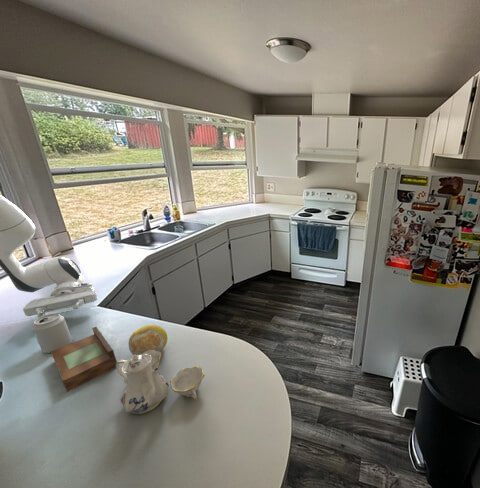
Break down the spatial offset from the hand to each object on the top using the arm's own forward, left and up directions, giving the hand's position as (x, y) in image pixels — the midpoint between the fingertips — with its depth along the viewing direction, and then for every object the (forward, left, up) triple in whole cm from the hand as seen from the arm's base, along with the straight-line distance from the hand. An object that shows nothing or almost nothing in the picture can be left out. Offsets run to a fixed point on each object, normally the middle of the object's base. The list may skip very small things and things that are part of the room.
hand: (58, 311), depth 94 cm
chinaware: (+10, -57, -8) cm, 58 cm away
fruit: (+16, -39, -8) cm, 42 cm away
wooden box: (+1, -28, -8) cm, 29 cm away
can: (-3, -11, -8) cm, 14 cm away
